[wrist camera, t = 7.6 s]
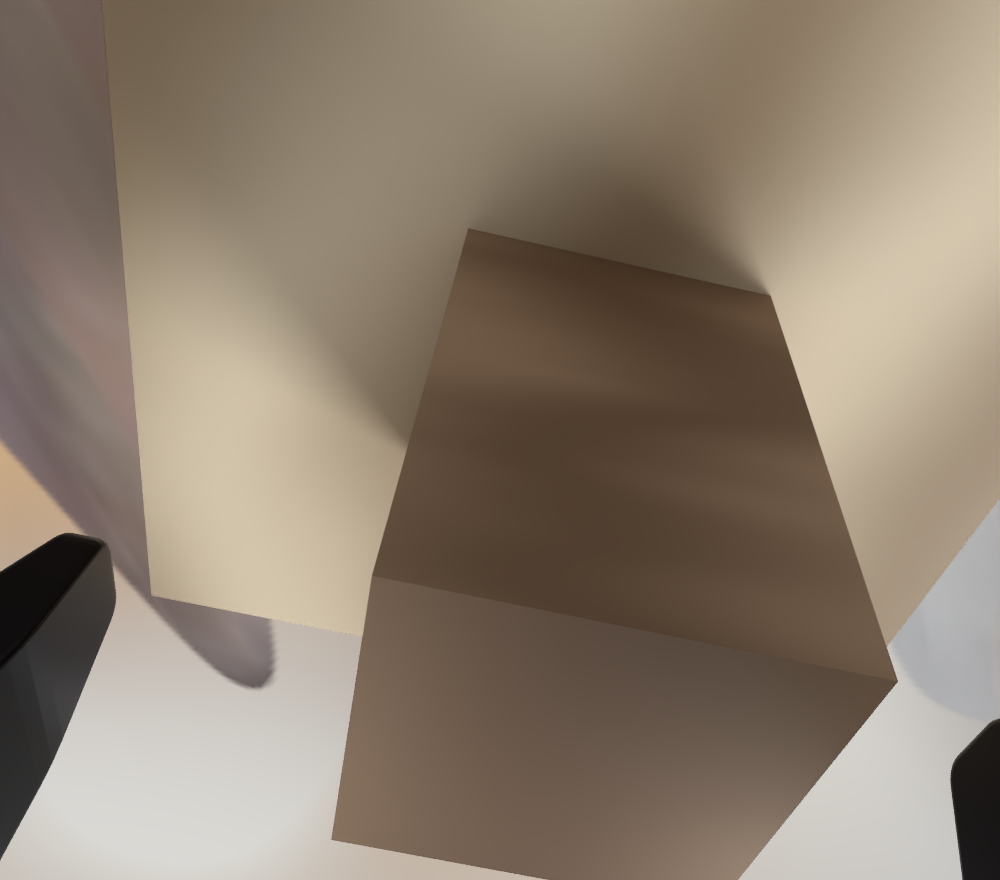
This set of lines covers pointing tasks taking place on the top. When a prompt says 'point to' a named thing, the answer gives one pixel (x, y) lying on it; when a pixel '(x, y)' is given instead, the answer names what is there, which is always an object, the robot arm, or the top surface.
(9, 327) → the top surface
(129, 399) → the top surface
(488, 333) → the oak lid
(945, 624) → the top surface
